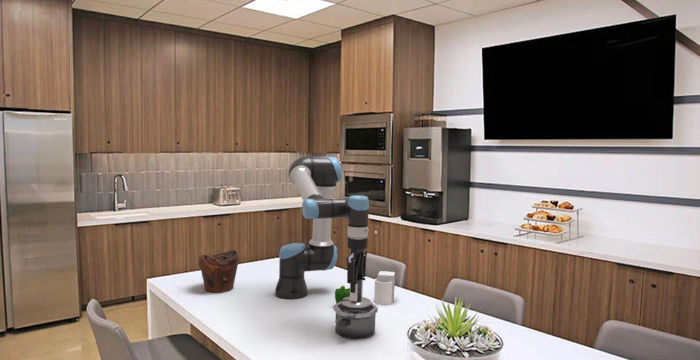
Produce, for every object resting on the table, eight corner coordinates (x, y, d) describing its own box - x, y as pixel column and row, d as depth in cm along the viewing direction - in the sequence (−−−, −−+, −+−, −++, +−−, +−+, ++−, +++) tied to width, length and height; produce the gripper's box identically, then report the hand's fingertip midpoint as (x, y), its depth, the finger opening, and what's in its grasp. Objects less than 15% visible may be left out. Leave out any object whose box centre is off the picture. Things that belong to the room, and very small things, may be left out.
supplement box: (392, 303, 212) (393, 275, 211) (376, 302, 214) (377, 274, 213) (394, 298, 219) (395, 271, 219) (378, 297, 221) (379, 270, 220)
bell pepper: (343, 302, 212) (344, 280, 211) (357, 307, 206) (357, 285, 205) (329, 306, 206) (330, 284, 205) (343, 312, 200) (343, 288, 200)
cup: (400, 299, 218) (400, 278, 218) (386, 306, 209) (386, 283, 208) (385, 295, 223) (385, 274, 223) (370, 302, 214) (371, 280, 213)
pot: (321, 338, 172) (322, 312, 171) (350, 317, 194) (350, 294, 193) (360, 347, 166) (361, 320, 165) (385, 324, 187) (386, 301, 186)
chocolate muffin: (188, 291, 221) (189, 253, 220) (216, 281, 240) (216, 246, 239) (220, 298, 215) (221, 258, 213) (245, 286, 233) (246, 250, 232)
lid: (336, 306, 176) (337, 281, 175) (348, 297, 186) (348, 274, 185) (364, 310, 171) (365, 285, 171) (374, 301, 182) (375, 278, 181)
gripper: (357, 242, 168) (355, 307, 169) (375, 234, 183) (374, 294, 185) (338, 240, 171) (336, 303, 173) (358, 232, 186) (356, 291, 188)
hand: (356, 298), depth 179 cm, fingers closed on lid, 4 cm apart
